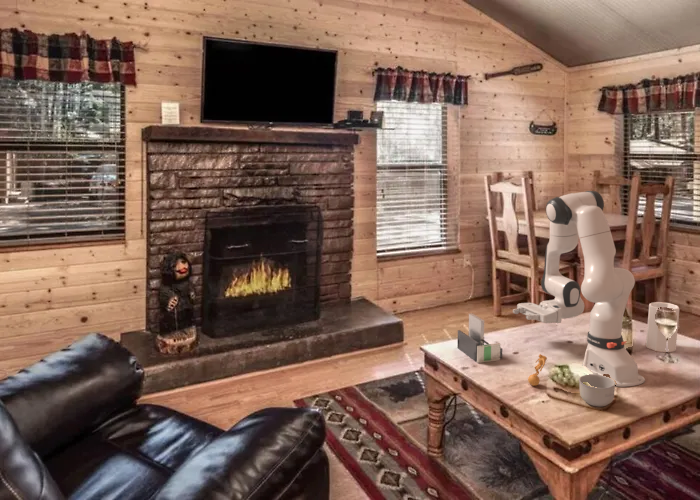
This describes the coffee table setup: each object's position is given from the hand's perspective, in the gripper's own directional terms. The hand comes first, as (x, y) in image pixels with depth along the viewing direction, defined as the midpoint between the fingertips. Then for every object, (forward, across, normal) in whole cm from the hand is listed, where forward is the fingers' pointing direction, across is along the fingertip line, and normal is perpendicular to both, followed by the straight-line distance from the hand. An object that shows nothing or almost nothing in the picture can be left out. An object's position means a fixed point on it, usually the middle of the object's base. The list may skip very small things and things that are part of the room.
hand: (520, 314), depth 221 cm
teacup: (+3, +49, +17) cm, 52 cm away
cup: (-55, +19, +16) cm, 61 cm away
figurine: (+15, +33, +16) cm, 39 cm away
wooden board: (+21, +1, +13) cm, 24 cm away
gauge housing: (+19, -1, +15) cm, 24 cm away
